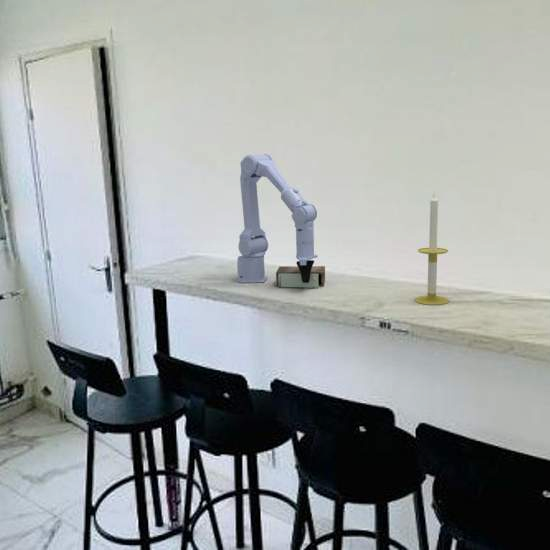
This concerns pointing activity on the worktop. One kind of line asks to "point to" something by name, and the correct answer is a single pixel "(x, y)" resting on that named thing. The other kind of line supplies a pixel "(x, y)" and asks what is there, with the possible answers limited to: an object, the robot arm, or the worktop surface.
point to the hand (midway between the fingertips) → (305, 282)
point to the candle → (432, 259)
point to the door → (297, 280)
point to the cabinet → (295, 270)
